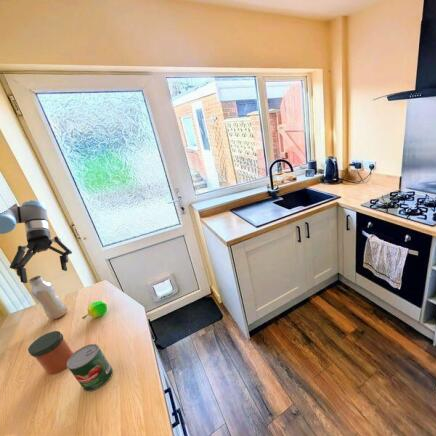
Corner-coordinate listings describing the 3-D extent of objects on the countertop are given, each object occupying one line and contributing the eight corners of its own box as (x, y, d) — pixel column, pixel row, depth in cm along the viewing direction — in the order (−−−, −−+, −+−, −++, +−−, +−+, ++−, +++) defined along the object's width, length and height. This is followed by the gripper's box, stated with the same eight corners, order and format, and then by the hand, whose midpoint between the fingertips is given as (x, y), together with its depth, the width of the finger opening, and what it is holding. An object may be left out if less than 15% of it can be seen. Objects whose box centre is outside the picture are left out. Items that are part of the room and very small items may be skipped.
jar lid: (24, 360, 76) (20, 356, 75) (41, 338, 83) (38, 334, 82) (54, 352, 77) (51, 348, 77) (68, 331, 85) (66, 328, 84)
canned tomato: (86, 397, 73) (68, 374, 68) (80, 381, 78) (63, 358, 73) (116, 376, 78) (101, 352, 73) (109, 362, 83) (95, 339, 78)
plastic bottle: (45, 320, 104) (19, 283, 96) (62, 308, 110) (38, 272, 102) (56, 322, 103) (30, 284, 94) (72, 310, 108) (49, 273, 100)
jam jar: (41, 377, 80) (23, 356, 76) (55, 357, 87) (39, 336, 82) (67, 370, 82) (51, 349, 77) (79, 350, 88) (65, 330, 84)
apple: (101, 295, 104) (76, 309, 97) (110, 307, 103) (85, 322, 96) (102, 301, 109) (78, 315, 102) (110, 312, 108) (86, 327, 101)
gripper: (75, 227, 119) (84, 267, 113) (7, 244, 109) (12, 289, 103) (67, 221, 113) (76, 263, 107) (-6, 238, 103) (-2, 286, 97)
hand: (44, 276), depth 105 cm, fingers open, 13 cm apart
